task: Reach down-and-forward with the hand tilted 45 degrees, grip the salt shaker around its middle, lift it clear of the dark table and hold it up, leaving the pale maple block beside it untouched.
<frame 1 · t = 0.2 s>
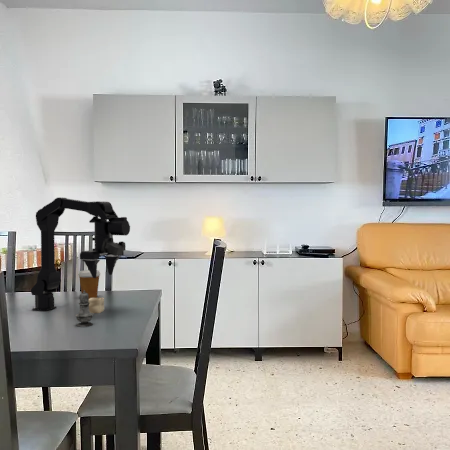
hand: (102, 276, 174), 14 cm above the table, tool pointing down, fingers open, 9 cm apart
disposable coffee cup: (89, 298, 206), on the table
maple block: (95, 311, 178), on the table
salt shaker: (84, 325, 158), on the table
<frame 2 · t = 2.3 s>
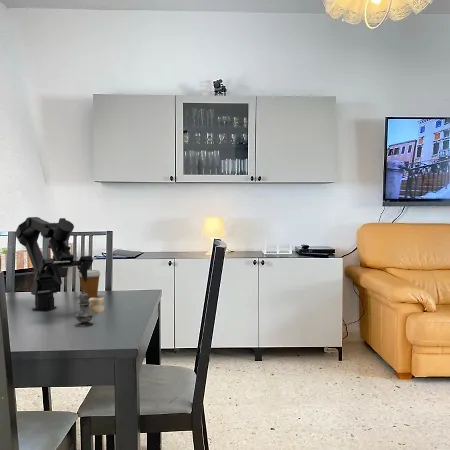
hand: (73, 282, 163), 13 cm above the table, tool tilted 45°, fingers open, 9 cm apart
nothing on the table moved.
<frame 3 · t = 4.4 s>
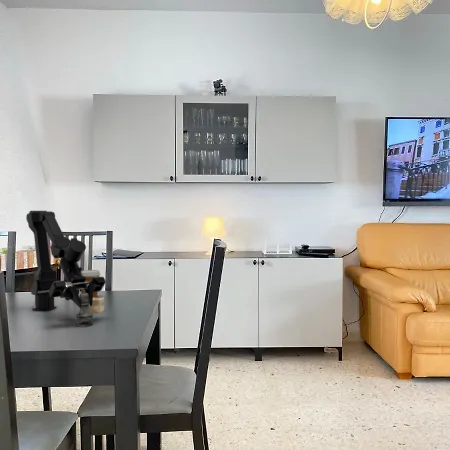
hand: (86, 306, 156), 7 cm above the table, tool tilted 45°, fingers closed on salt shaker, 4 cm apart
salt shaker: (84, 325, 158), on the table, touching gripper
everything else where it was.
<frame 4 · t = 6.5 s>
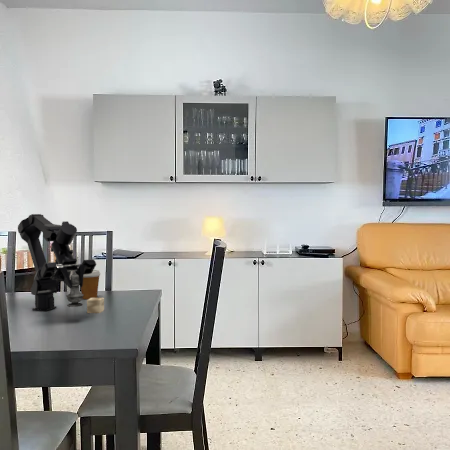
hand: (76, 287, 161), 12 cm above the table, tool tilted 45°, fingers closed on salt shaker, 4 cm apart
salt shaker: (75, 305, 163), point 5 cm above the table, touching gripper
everything else where it was.
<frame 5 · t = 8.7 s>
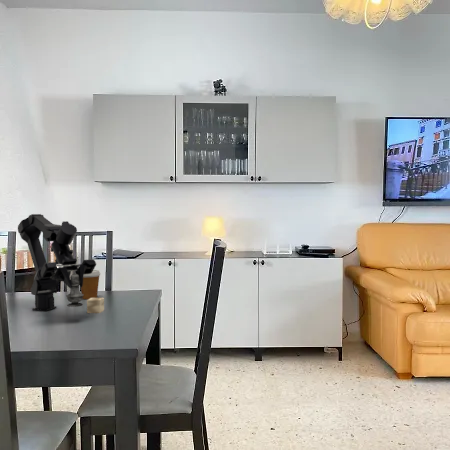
hand: (76, 287, 161), 12 cm above the table, tool tilted 45°, fingers closed on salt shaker, 4 cm apart
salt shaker: (75, 305, 163), point 5 cm above the table, touching gripper
everything else where it was.
at the end: the gripper is holding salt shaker; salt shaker point 5.5 cm above the table; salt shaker touching gripper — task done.
